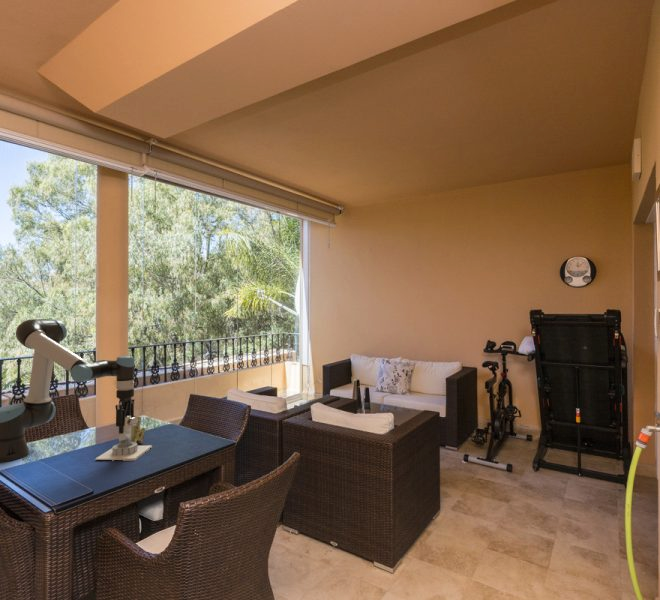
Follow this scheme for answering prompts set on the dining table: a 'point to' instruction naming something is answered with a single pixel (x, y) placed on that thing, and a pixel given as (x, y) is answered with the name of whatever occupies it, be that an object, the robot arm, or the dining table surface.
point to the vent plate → (126, 457)
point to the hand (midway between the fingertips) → (125, 438)
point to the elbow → (128, 428)
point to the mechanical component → (137, 432)
